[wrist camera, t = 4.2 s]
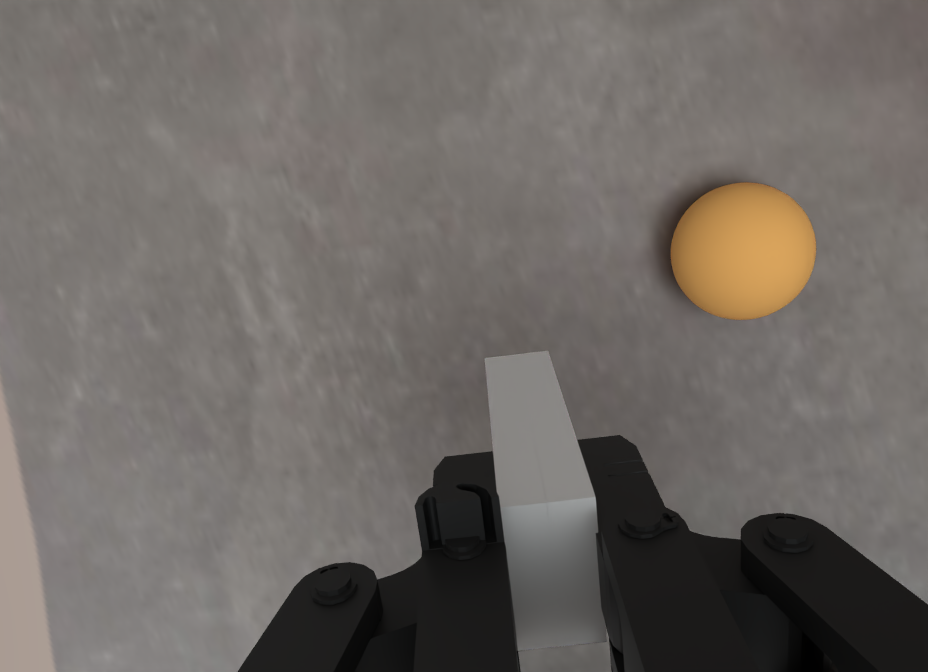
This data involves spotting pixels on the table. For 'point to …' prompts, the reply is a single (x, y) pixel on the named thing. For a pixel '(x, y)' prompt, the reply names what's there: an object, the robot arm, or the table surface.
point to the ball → (743, 251)
